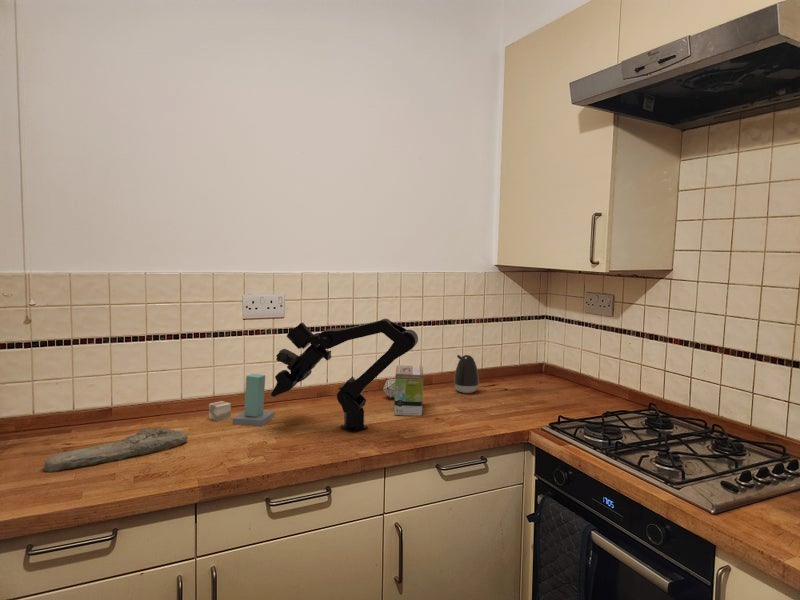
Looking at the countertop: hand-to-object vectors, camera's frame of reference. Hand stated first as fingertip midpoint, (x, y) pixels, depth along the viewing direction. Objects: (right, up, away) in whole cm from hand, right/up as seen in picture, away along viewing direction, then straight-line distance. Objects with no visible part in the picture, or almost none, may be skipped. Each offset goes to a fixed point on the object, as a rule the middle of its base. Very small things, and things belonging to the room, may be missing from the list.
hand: (277, 391), depth 173 cm
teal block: (-8, -8, +2) cm, 12 cm away
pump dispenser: (+67, -8, +43) cm, 80 cm away
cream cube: (-20, -10, +4) cm, 23 cm away
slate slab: (-8, -11, +2) cm, 13 cm away
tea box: (+43, -10, +17) cm, 47 cm away
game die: (+37, -8, +32) cm, 50 cm away
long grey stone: (-36, -13, -28) cm, 48 cm away
